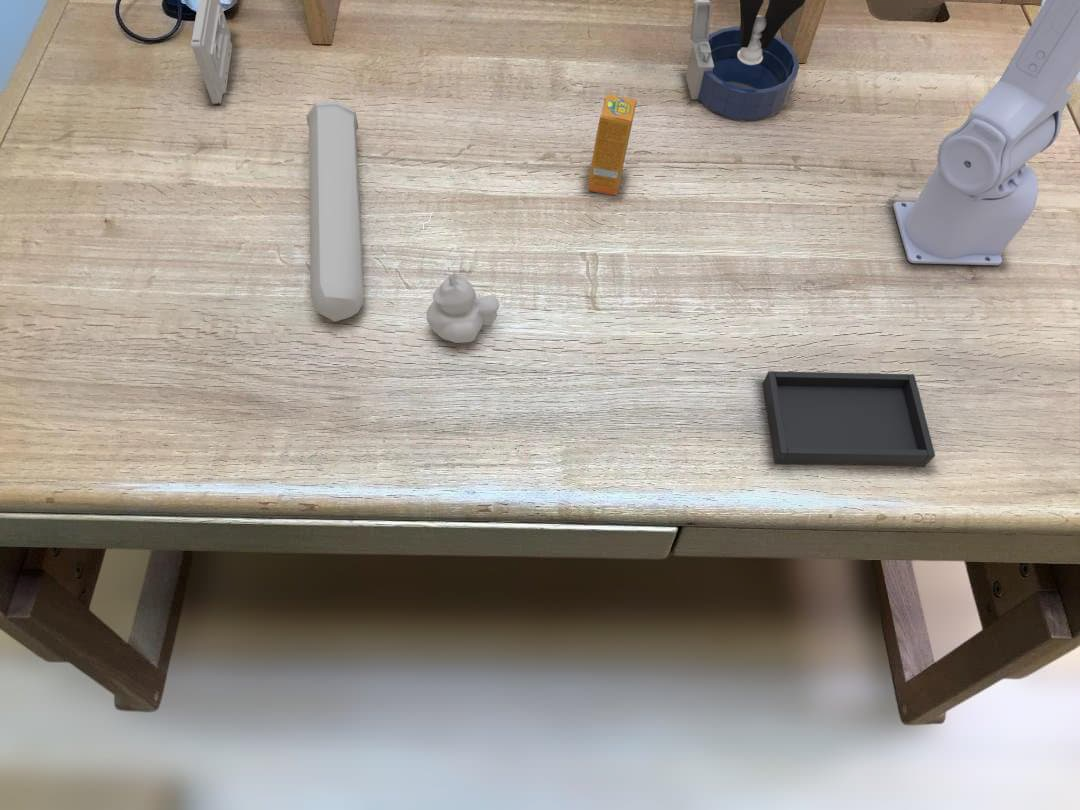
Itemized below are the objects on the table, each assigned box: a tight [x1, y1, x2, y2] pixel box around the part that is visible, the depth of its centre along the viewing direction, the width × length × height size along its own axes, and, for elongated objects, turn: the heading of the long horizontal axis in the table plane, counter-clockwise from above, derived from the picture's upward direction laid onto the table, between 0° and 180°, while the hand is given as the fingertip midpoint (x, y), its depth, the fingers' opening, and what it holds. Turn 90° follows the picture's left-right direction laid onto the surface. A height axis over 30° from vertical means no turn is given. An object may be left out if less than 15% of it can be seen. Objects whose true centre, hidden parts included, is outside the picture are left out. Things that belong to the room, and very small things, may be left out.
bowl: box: [698, 25, 800, 122], centre depth 96 cm, size 11×11×4 cm
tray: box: [762, 370, 936, 467], centre depth 75 cm, size 13×8×2 cm, turn 90°
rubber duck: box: [426, 272, 500, 344], centre depth 76 cm, size 5×7×8 cm
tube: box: [305, 100, 365, 323], centre depth 83 cm, size 5×5×25 cm
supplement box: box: [587, 93, 637, 196], centre depth 85 cm, size 3×3×10 cm
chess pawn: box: [737, 14, 767, 65], centre depth 92 cm, size 3×3×5 cm
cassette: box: [190, 0, 233, 105], centre depth 93 cm, size 12×2×8 cm, turn 5°
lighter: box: [685, 0, 714, 100], centre depth 95 cm, size 7×2×8 cm, turn 4°
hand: (753, 41), depth 92 cm, fingers closed on chess pawn, 2 cm apart
